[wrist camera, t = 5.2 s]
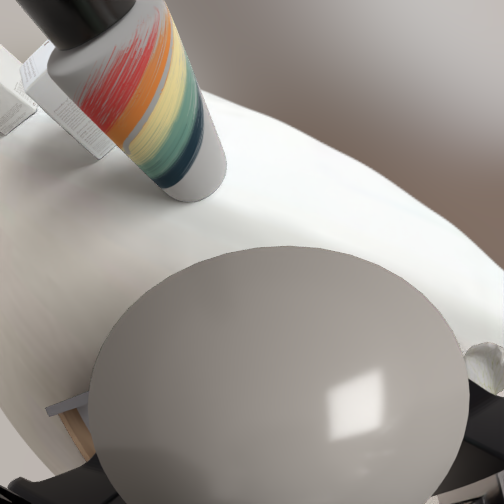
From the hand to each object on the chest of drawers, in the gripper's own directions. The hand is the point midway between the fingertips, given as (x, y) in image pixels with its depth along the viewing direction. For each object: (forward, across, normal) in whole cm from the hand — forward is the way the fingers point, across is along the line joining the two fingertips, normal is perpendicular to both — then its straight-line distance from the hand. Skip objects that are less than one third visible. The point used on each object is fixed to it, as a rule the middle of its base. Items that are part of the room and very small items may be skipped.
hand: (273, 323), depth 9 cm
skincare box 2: (+21, +13, -6) cm, 26 cm away
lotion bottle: (+16, +4, -1) cm, 17 cm away
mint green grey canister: (+4, 0, +6) cm, 7 cm away
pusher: (+4, +15, +10) cm, 19 cm away
